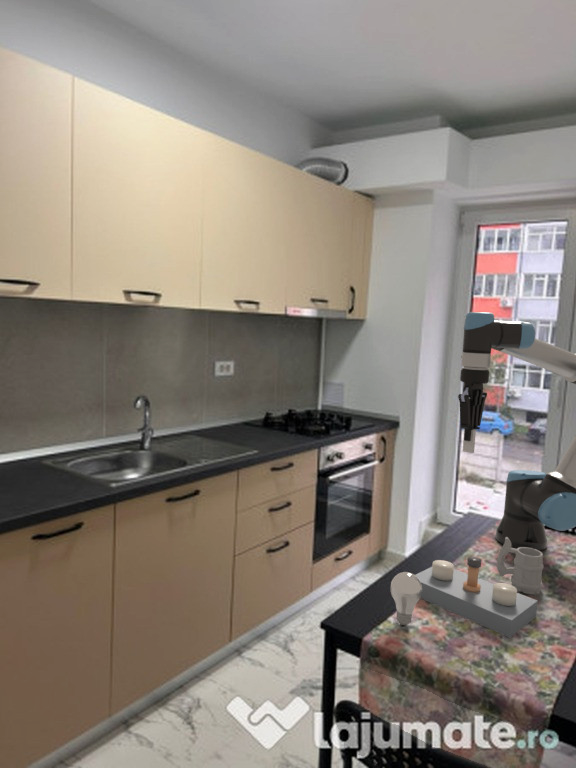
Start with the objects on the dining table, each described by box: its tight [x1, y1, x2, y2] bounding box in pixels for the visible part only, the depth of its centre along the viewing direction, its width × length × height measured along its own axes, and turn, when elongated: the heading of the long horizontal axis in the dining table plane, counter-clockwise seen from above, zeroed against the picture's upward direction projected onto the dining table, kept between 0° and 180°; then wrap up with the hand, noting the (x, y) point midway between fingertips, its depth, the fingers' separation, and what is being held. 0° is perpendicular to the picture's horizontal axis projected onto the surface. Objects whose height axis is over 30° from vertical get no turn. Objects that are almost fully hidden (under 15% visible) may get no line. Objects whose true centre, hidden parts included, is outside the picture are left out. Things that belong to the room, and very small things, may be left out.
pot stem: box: [463, 556, 482, 593], centre depth 137 cm, size 4×4×7 cm
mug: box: [496, 537, 544, 595], centre depth 149 cm, size 8×12×12 cm, turn 53°
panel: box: [414, 566, 539, 638], centre depth 137 cm, size 14×26×4 cm, turn 45°
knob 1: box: [431, 559, 455, 581], centre depth 143 cm, size 5×5×7 cm
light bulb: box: [389, 571, 422, 627], centre depth 126 cm, size 7×7×12 cm
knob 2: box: [492, 582, 518, 607], centre depth 132 cm, size 5×5×7 cm
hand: (468, 451), depth 160 cm, fingers closed
